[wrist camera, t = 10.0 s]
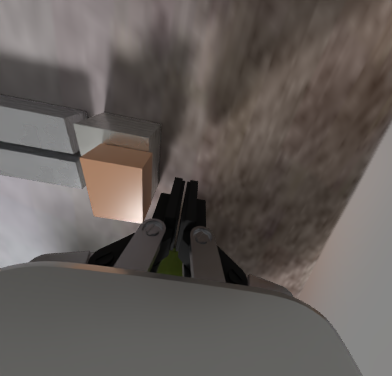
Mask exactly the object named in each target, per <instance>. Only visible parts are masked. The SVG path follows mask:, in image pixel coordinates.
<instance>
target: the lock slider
mask: <svg viewBox="0 0 392 376" xmlns="http://www.w3.org/2000/svg"><path fill="white" fill-rule="evenodd" d="M152 157H153V153H150V152H145V151H139V150H134V149H129V148H123V147H118V146H112V145H107V144H102V143H101V144H99V145H98V146H96V147H95V148H93V149H92V150H90V151H89V152H87V153H86V154H84V155H83V156H81V157H80V162H81V166H82V170H83V174H84V178H85V182H86V186H87V190H88V194H89V198H90V202H91V206H92V210H93V214H94V216H95V217H102V218H108V219H115V220H121V221H128V222H134V223H141V224H142V222H144V219H145V217H146V214H147V212H148V210H149V207H150V205H151V189H152Z"/></svg>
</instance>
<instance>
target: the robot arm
mask: <svg viewBox="0 0 392 376" xmlns="http://www.w3.org/2000/svg"><path fill="white" fill-rule="evenodd" d="M182 180H183V179H182V178H176V177H175V180H174V184H173V187H172V191H171V194H166V193H161V195H160V198H159V201H158V203H157V206H156V209H155V212H154V214H153V217H152V219H148V220H145V221H144V222H142V224H141V225H140V226H139V228H138V229H137V231H136V232H135V233H133V234H131V235H129V236H127V237H125V238H123V239H121V240H118V241H116V242H114V243H112V244H110V245H108V246H106V247H104V248H101V249H99V250H98V251H96V252H95V253H90V251H83V252H67V253H51V254H44V255H40V256H38V257H36V258H34V259H33V260H31V261H30V262H28V263H22V264H16V265H11V266H7V267H3V268H0V376H362V374H361V372H360V370H359V368H358V367H357V365H356V363H355V361H354V359H353V358H352V356H351V354H350V352H349V351H348V349H347V347H346V346H345V344H344V342H343V341H342V339H341V338H340V336H339V334H338V333H337V331H336V330H335V329H334V327H333V326H332V324H331V323H330V322H329V321H328V320H327V319H326V318H325V317H324V316H323V315H322V314H321V313H320V312H318V311H317V310H316V309H314V308H312V307H311V306H310V305H308V304H306V303H304V302H303V301H301V300H299V299H297V298H295V297H293V295H292V294H291V292H289V291H288V290H287V289H286V288H284V287H283V286H280V285H278V284H275V283H273V282H270V281H267V280H265V279H262V278H259V277H257V276H254V275H251V274H249V275H246V274H245V273H244V272H243V270H242V269H241V268H240V267H239V266H238V265H237V264H236V263H235V262H233V261H232V260H231V259H230V258H229V257H228V256H227V255H226V254H225V253H224V252H223V251H222V250H221V249H220V248H219V247H218V246H217V244H216V240H215V236H214V233H213V232H212V231H211V230H210V229H209V228H207V227H206V202H205V200H200V199H197V191H198V181H193V180H191V181H190V182H187V187H186V192H185V197H184V202H183V208H182V213H181V220H180V226H179V232H178V238H177V244H176V251H179V252H178V258H179V259H180V260H181V261H182V274H183V277H182V276H174V275H167V274H160V273H158V270H159V268H160V265H161V262H162V260H163V259H164V258H166V257H167V256H168V255H169V250H172V251H173V247H174V241H175V236H176V230H177V225H178V219H179V214H180V208H181V202H182V196H183V191H184V185H185V181H182Z"/></svg>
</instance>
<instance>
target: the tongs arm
mask: <svg viewBox="0 0 392 376" xmlns="http://www.w3.org/2000/svg"><path fill="white" fill-rule="evenodd" d="M80 157H81V154H80V150H79V151H77V152H76V153H74V154H70V153H65V152H59V151H53V150H48V149H42V148H37V147H31V146H25V145H20V144H14V143H9V142H3V141H0V175H4V176H10V177H16V178H22V179H27V180H33V181H39V182H45V183H51V184H57V185H62V186H68V187H74V188H80V189H83V188H84V187H85V186H86V182H85V178H84V174H83V170H82V166H81V162H80Z"/></svg>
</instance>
